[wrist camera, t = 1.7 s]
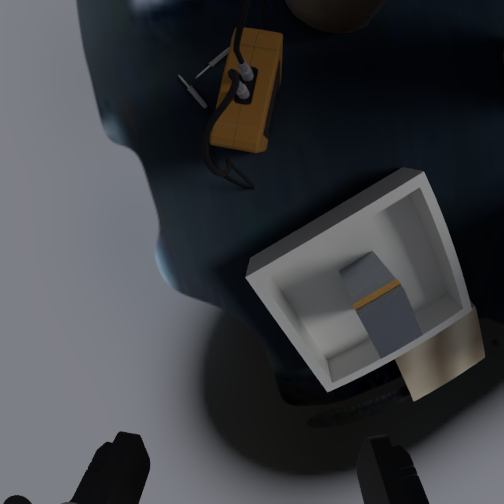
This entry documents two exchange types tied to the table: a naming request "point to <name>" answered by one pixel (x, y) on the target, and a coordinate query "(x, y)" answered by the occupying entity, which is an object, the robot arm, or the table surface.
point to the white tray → (346, 252)
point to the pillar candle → (335, 13)
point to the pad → (442, 356)
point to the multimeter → (244, 94)
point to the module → (380, 304)
